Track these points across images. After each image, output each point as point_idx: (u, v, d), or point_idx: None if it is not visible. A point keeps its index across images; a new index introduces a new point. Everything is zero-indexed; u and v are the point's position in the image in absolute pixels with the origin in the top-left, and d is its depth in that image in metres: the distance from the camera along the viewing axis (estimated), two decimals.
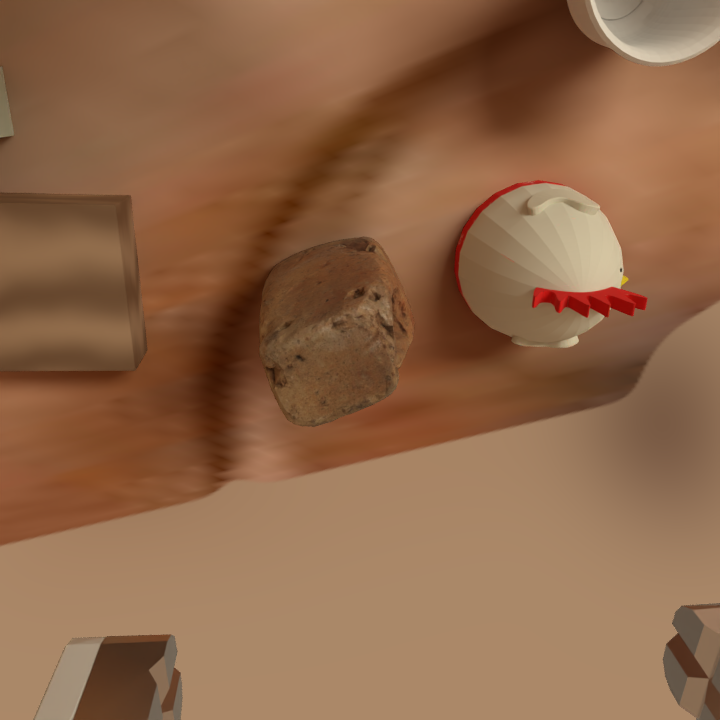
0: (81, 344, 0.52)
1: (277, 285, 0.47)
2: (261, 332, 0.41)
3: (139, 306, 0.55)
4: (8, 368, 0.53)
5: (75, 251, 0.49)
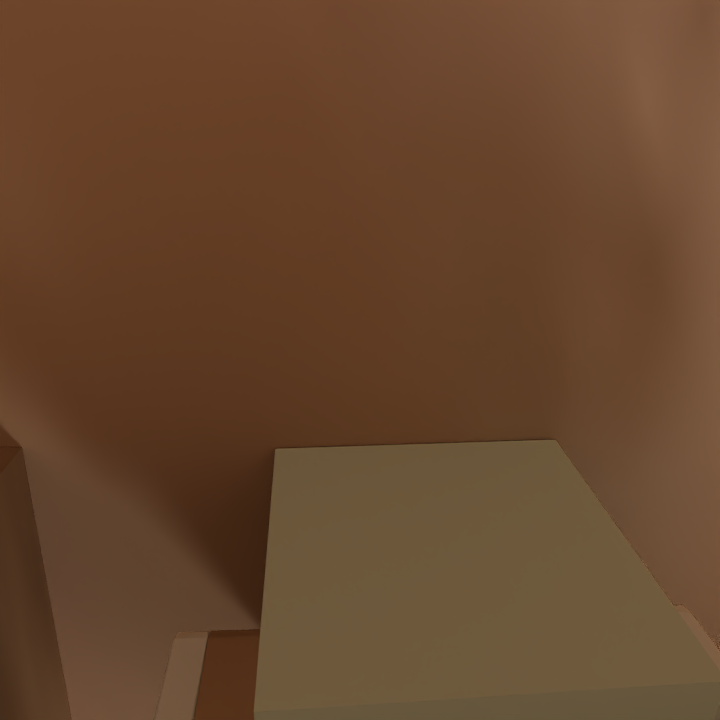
0: None
1: None
2: None
3: None
4: None
5: None
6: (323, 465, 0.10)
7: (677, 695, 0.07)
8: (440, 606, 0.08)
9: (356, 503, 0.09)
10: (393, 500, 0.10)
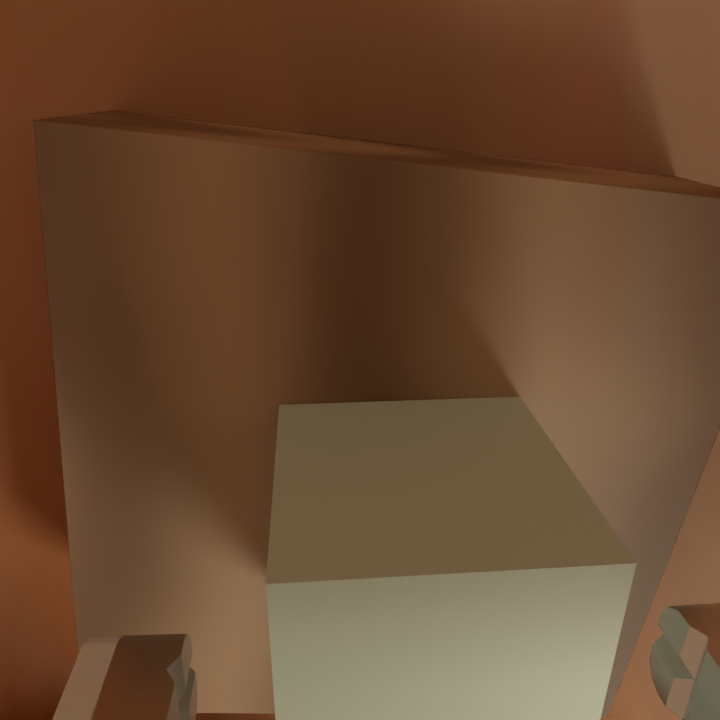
0: (182, 587, 0.14)
1: None
2: None
3: None
4: (64, 329, 0.12)
5: None
6: (320, 416, 0.12)
7: (598, 575, 0.09)
8: (413, 516, 0.09)
9: (347, 444, 0.11)
10: (379, 442, 0.11)
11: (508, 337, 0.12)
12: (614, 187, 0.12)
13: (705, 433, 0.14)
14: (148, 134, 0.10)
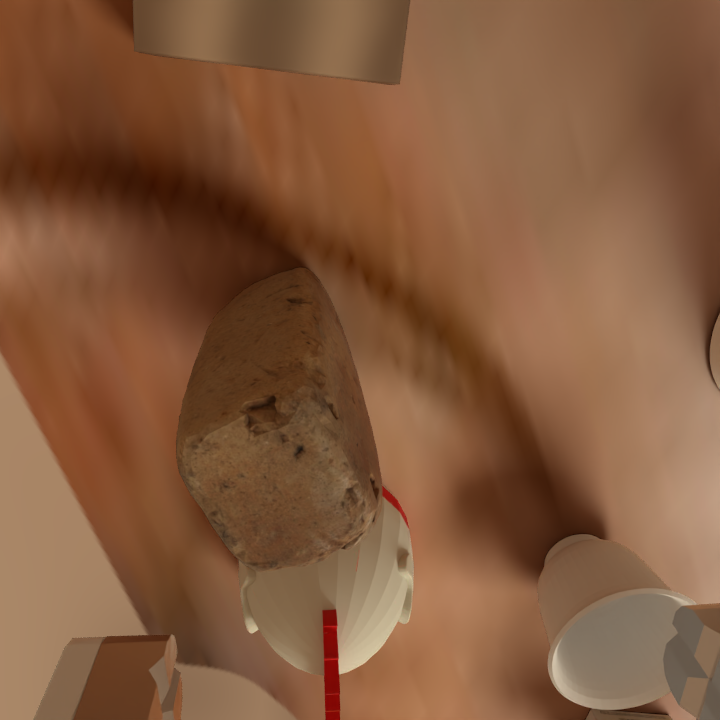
0: None
1: (327, 322, 0.34)
2: (304, 358, 0.28)
3: (231, 64, 0.36)
4: None
5: (338, 1, 0.32)
6: None
7: None
8: None
9: None
10: None
11: None
12: None
13: None
14: None
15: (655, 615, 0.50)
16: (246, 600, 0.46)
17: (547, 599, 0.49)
